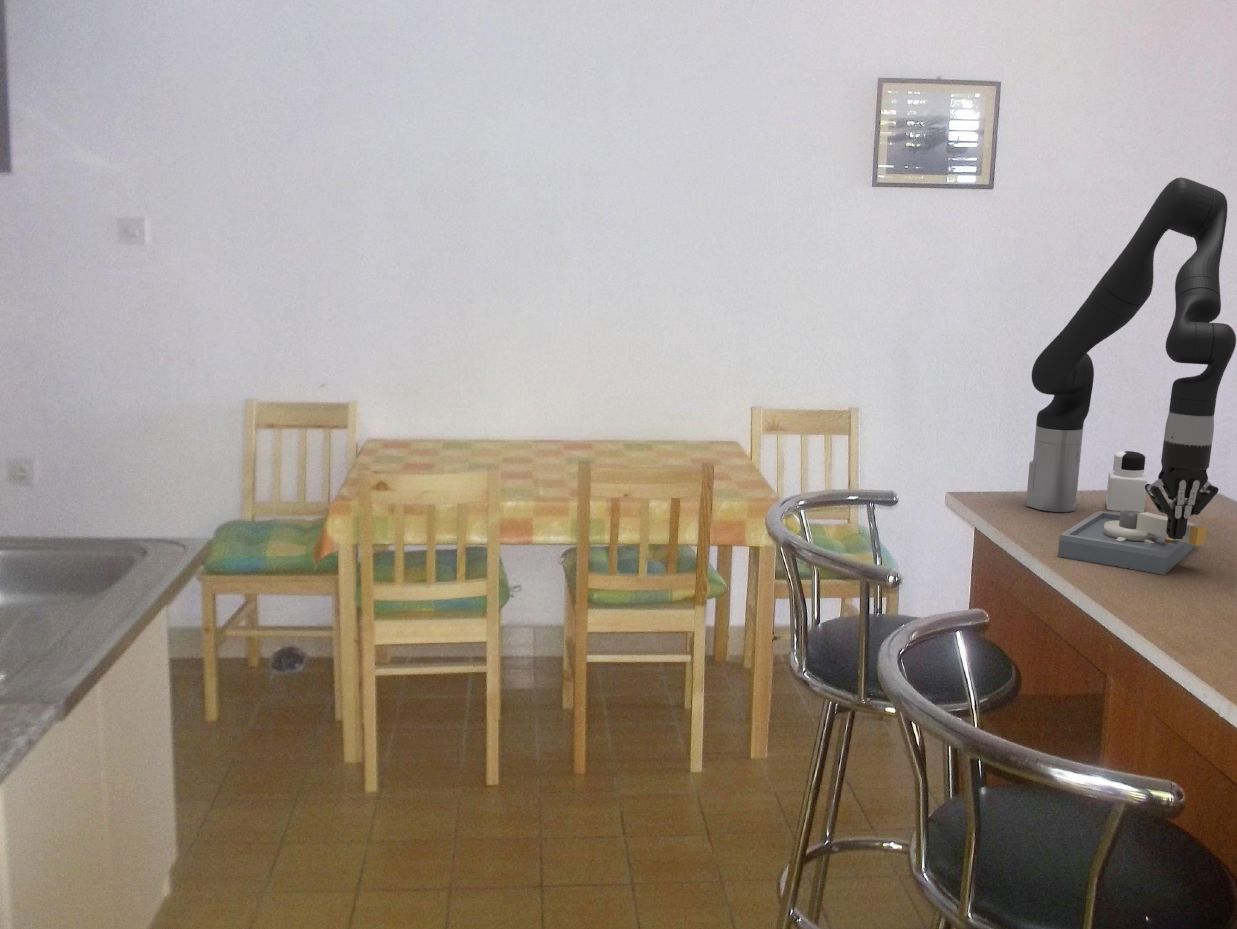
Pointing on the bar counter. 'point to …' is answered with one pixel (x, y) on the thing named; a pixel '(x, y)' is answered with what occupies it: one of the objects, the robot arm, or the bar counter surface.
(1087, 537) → the grey tray
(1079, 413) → the robot arm
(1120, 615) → the bar counter surface
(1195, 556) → the bar counter surface
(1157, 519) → the white lever with disc
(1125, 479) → the medicine bottle
